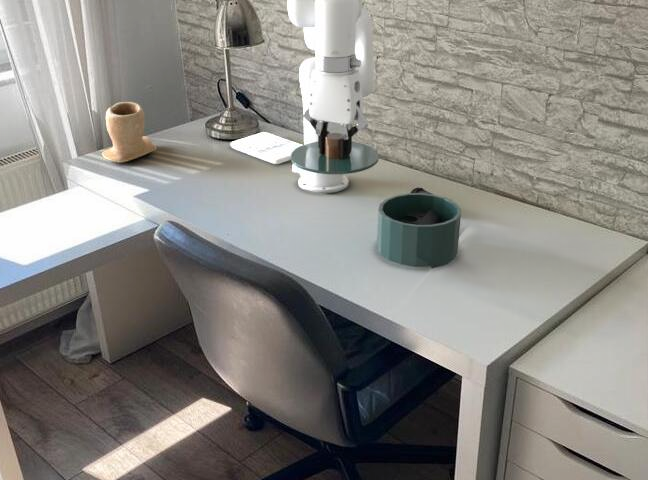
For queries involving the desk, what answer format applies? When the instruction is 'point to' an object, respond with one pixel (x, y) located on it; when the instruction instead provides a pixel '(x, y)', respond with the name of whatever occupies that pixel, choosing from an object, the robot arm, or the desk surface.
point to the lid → (334, 157)
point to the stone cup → (126, 132)
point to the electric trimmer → (419, 191)
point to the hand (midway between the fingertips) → (334, 153)
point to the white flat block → (266, 147)
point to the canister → (418, 230)
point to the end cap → (424, 218)
